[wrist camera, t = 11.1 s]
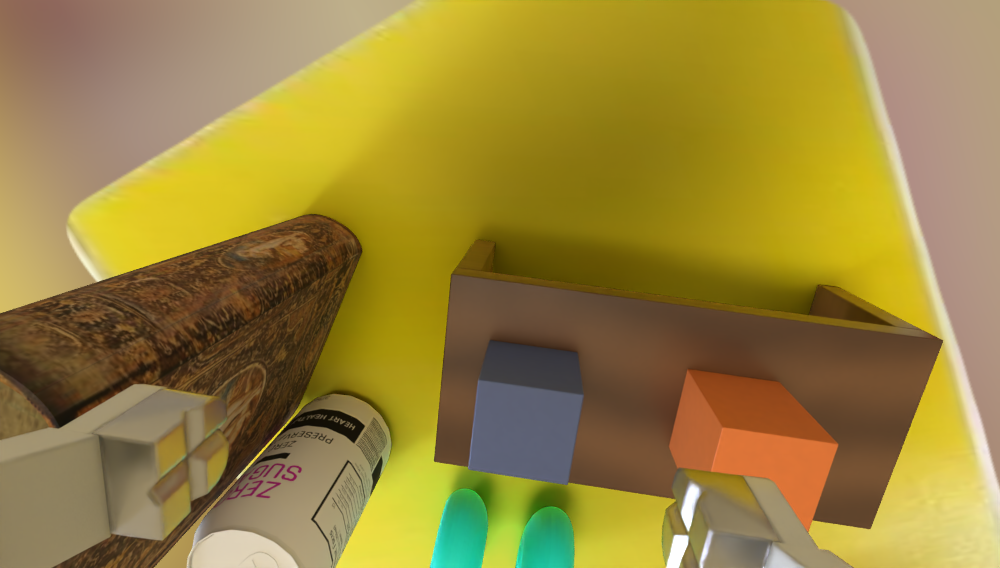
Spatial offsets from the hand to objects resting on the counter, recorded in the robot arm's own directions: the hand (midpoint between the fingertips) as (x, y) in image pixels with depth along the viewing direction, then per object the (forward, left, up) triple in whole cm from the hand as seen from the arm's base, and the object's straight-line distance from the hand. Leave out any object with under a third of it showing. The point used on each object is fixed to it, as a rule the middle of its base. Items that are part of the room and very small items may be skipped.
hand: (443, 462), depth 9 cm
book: (+10, -16, -29) cm, 35 cm away
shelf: (+8, +10, -29) cm, 32 cm away
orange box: (+8, +13, -19) cm, 24 cm away
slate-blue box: (+8, +2, -19) cm, 21 cm away
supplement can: (+20, -12, -29) cm, 37 cm away
